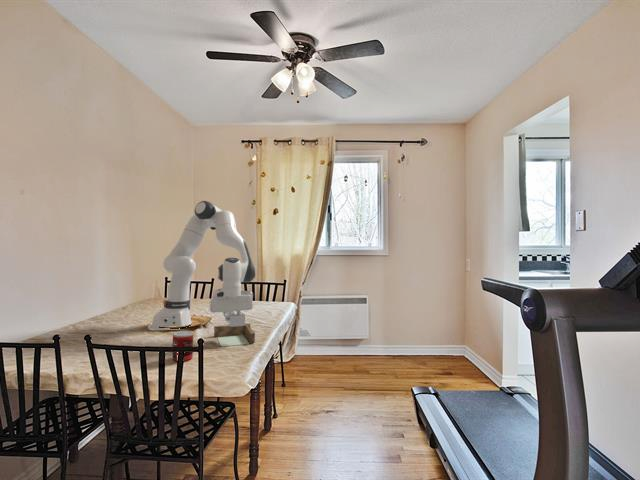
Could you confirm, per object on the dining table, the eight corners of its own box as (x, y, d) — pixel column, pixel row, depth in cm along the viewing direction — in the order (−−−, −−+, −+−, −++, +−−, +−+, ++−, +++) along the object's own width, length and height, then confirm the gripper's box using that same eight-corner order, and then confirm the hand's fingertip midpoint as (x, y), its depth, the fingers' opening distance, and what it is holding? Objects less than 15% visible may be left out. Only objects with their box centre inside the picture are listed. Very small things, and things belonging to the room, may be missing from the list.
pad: (221, 346, 168) (221, 346, 168) (217, 338, 180) (217, 337, 180) (249, 343, 173) (249, 343, 173) (243, 335, 186) (243, 335, 186)
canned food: (175, 355, 155) (176, 330, 154) (194, 355, 155) (195, 330, 155) (169, 362, 147) (170, 335, 147) (190, 362, 148) (190, 335, 147)
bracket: (226, 320, 181) (226, 311, 181) (240, 319, 184) (240, 310, 183) (230, 326, 171) (230, 316, 170) (244, 325, 174) (245, 315, 173)
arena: (218, 347, 167) (219, 336, 167) (214, 336, 183) (214, 326, 183) (257, 343, 174) (257, 333, 174) (249, 332, 190) (249, 323, 190)
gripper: (251, 289, 182) (251, 316, 183) (209, 291, 174) (209, 320, 175) (254, 291, 177) (254, 319, 177) (211, 294, 168) (210, 323, 169)
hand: (231, 320), depth 176 cm, fingers closed on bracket, 3 cm apart
